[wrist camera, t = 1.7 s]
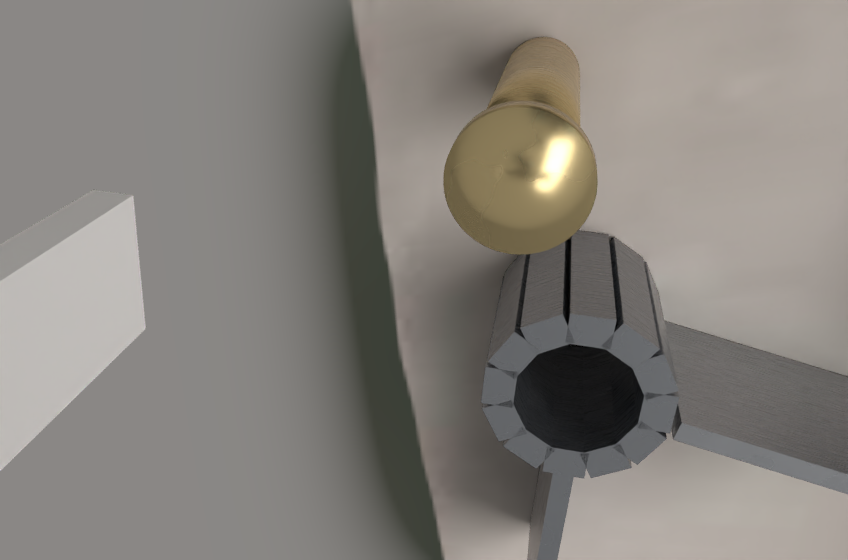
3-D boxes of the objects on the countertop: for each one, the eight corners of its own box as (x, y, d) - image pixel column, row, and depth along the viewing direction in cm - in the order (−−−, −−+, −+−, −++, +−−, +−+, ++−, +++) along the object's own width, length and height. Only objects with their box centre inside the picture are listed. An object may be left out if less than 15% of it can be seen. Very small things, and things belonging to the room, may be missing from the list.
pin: (501, 22, 31) (450, 99, 19) (597, 31, 31) (609, 117, 18) (490, 115, 33) (437, 244, 21) (581, 126, 33) (583, 263, 20)
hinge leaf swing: (654, 334, 36) (673, 439, 29) (661, 319, 36) (681, 422, 29) (868, 399, 36) (940, 523, 29) (877, 386, 35) (953, 507, 28)
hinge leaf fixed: (510, 221, 35) (493, 302, 28) (671, 242, 34) (696, 331, 27) (472, 513, 42) (451, 636, 35) (603, 537, 42) (609, 667, 34)
